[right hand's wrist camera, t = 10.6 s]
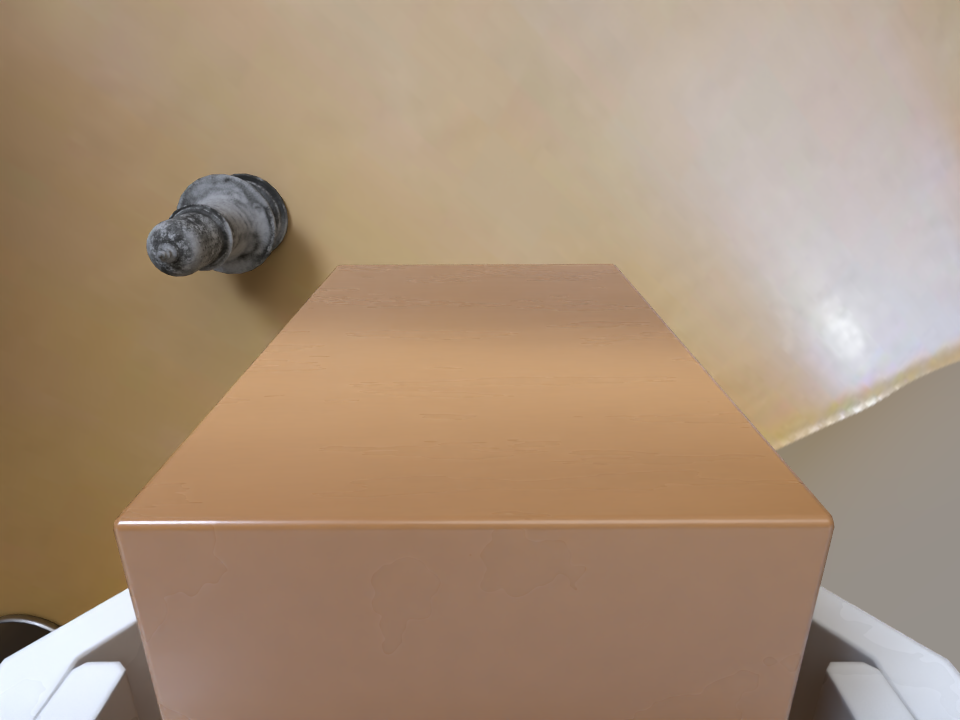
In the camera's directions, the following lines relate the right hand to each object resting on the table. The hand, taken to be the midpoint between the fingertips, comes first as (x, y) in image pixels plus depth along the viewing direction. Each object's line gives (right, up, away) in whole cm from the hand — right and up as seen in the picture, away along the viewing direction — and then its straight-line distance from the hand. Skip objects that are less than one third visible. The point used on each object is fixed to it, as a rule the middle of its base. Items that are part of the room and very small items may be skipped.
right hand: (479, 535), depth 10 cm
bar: (0, -6, +5) cm, 8 cm away
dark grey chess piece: (-15, +12, +31) cm, 37 cm away
